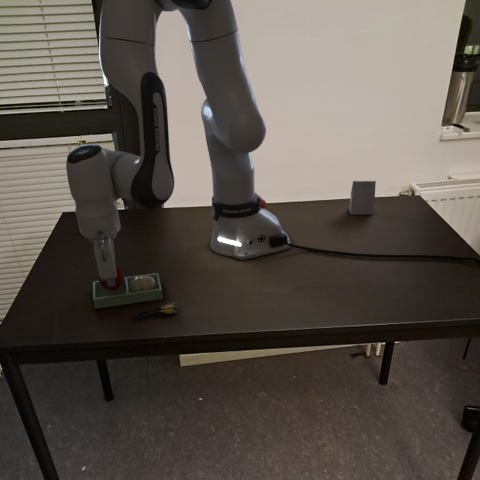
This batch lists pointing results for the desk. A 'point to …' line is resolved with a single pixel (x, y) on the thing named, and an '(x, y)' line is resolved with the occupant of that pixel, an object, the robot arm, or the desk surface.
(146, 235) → the desk surface
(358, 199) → the grey rectangular block
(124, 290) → the holder
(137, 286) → the cream rounded lump
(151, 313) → the composite cable
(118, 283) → the onion
